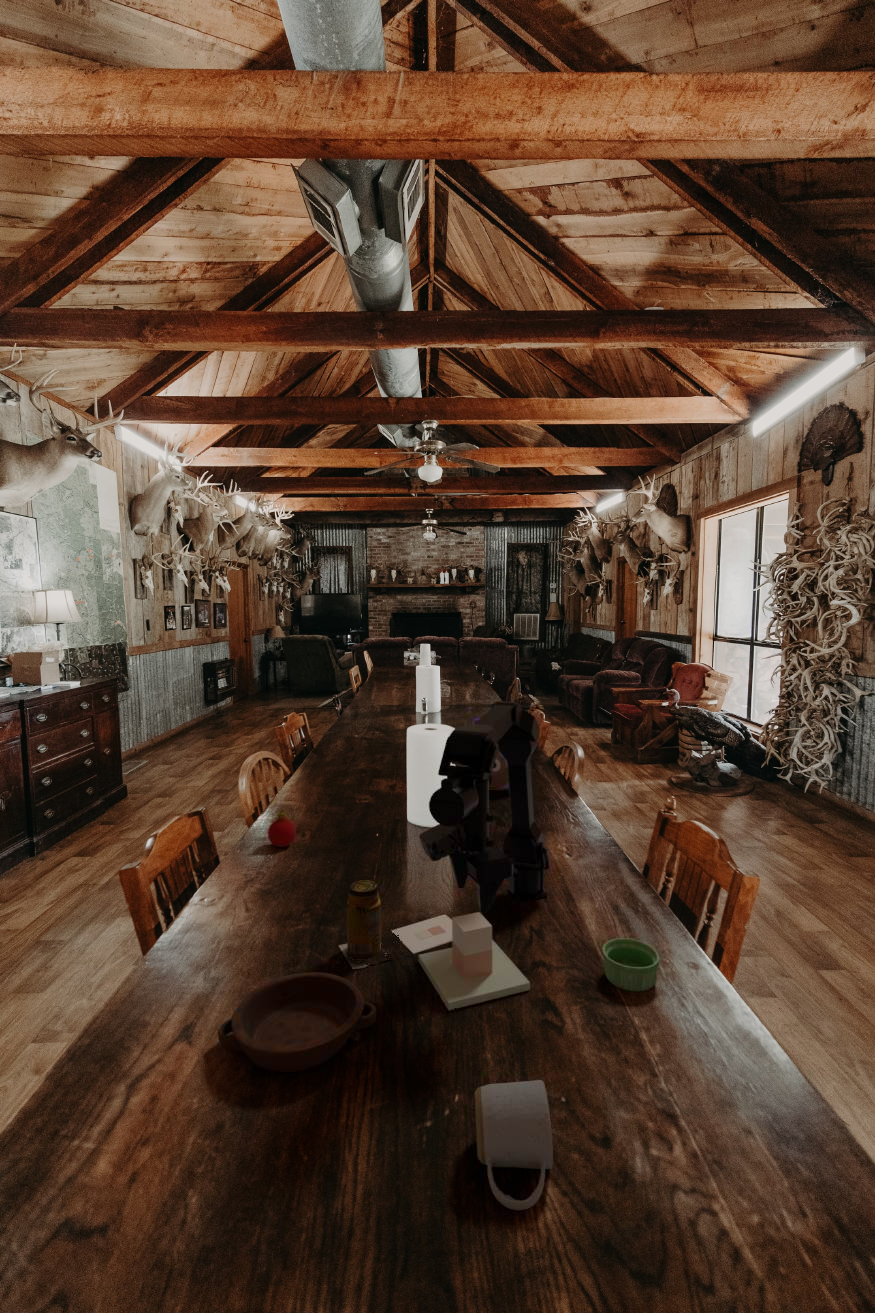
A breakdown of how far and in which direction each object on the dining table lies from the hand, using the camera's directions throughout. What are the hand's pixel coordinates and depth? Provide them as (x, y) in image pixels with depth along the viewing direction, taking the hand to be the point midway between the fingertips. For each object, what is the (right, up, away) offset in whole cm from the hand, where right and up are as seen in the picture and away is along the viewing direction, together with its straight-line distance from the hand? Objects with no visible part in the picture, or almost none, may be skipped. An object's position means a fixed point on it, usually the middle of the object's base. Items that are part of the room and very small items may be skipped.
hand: (471, 899), depth 101 cm
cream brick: (0, -8, +1) cm, 8 cm away
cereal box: (+15, -5, +108) cm, 109 cm away
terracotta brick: (0, -12, +1) cm, 12 cm away
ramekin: (+26, -13, 0) cm, 29 cm away
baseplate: (0, -13, +1) cm, 13 cm away
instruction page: (-7, -12, +14) cm, 20 cm away
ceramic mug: (+3, -16, -34) cm, 38 cm away
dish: (-25, -15, -14) cm, 32 cm away
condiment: (-19, -13, +8) cm, 24 cm away
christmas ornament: (-46, -10, +58) cm, 75 cm away
